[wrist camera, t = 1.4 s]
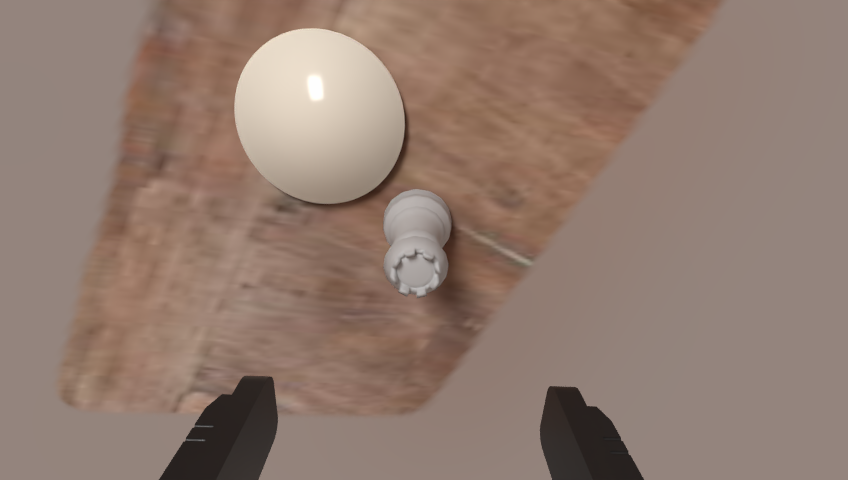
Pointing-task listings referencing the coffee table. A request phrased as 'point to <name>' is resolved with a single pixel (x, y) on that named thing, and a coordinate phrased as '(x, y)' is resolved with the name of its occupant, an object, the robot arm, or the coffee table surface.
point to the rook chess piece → (416, 242)
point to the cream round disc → (319, 116)
